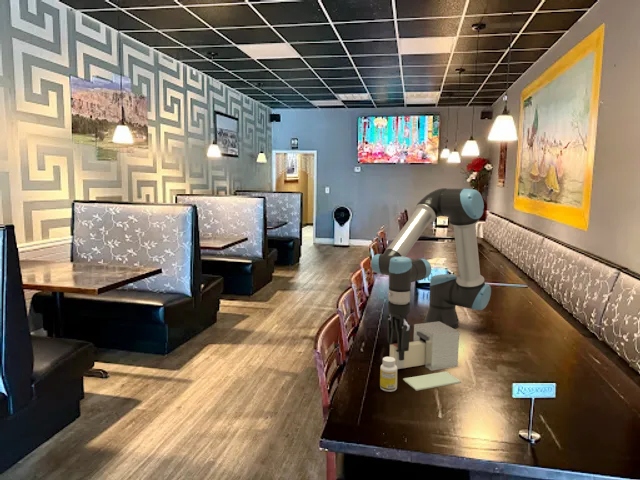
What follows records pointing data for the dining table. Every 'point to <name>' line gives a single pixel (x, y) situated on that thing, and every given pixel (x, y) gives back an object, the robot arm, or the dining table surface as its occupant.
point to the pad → (431, 380)
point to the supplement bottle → (388, 374)
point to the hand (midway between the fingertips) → (397, 365)
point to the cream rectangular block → (411, 353)
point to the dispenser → (438, 344)
